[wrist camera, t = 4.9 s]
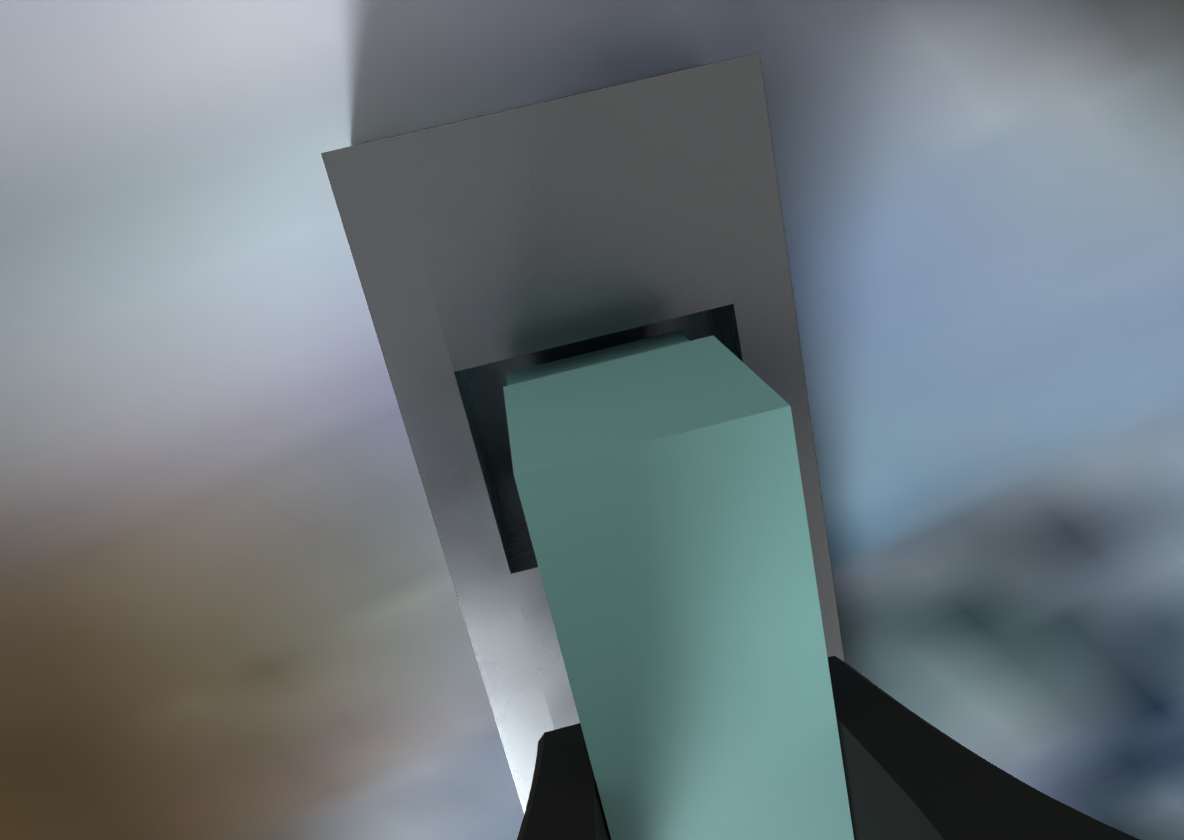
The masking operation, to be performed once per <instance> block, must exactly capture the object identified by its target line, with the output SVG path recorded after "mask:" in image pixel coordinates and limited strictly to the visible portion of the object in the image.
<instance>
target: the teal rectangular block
mask: <svg viewBox="0 0 1184 840" xmlns="http://www.w3.org/2000/svg"><path fill="white" fill-rule="evenodd" d="M506 379H507V386H505V387H503V390H504V398H505V407H506V415H507V423H508V432H509V440H510V448H511V457H512V465H513V473H514V478H515V482H516V485H517V489H518V493H519V497H520V500H521V504H522V508H523V512H524V515H525V519H526V523H527V526H528V530H529V534H530V538H531V541H532V545H533V549H534V553H535V556H536V560H537V564H538V568H539V571H540V575H541V579H542V582H543V586H544V590H545V594H546V597H547V601H548V605H549V609H550V612H551V616H552V620H553V624H554V627H555V631H556V635H557V638H558V642H559V646H560V650H561V653H562V657H563V661H564V665H565V668H566V672H567V676H568V680H569V683H570V687H571V691H572V694H573V698H574V702H575V706H576V709H577V713H578V717H579V721H580V724H581V728H582V732H583V735H584V739H585V743H586V747H587V750H588V754H589V758H590V762H591V765H592V769H593V773H594V777H595V780H596V784H597V788H598V791H599V795H600V799H601V803H602V806H603V810H604V814H605V818H606V821H607V825H608V829H609V833H610V836H611V840H854V835H853V828H852V822H851V815H850V808H849V801H848V794H847V788H846V781H845V774H844V767H843V760H842V753H841V747H840V740H839V733H838V726H837V719H836V712H835V706H834V699H833V692H832V685H831V678H830V672H829V665H828V658H827V651H826V644H825V637H824V631H823V624H822V617H821V610H820V603H819V597H818V590H817V583H816V576H815V569H814V562H813V556H812V549H811V542H810V535H809V528H808V522H807V515H806V508H805V501H804V494H803V487H802V481H801V474H800V467H799V460H798V453H797V447H796V440H795V433H794V426H793V419H792V412H791V406H790V405H789V404H788V403H787V402H786V401H785V400H784V399H783V398H782V397H780V396H779V395H778V394H777V393H776V392H775V391H774V390H773V389H772V388H771V387H769V386H768V385H767V384H766V383H765V382H764V381H763V380H762V379H761V378H760V377H758V376H757V375H756V374H755V373H754V372H753V371H752V370H751V369H750V368H749V367H747V366H746V365H745V364H744V363H743V362H742V361H741V360H740V359H739V358H738V357H736V356H735V355H734V354H733V353H732V352H731V351H730V350H729V349H728V348H727V347H725V346H724V345H723V344H722V343H721V342H720V341H719V340H718V339H717V338H716V337H714V336H709V337H704V338H700V339H696V340H692V341H690V340H689V339H688V338H687V337H686V336H685V335H684V334H683V333H682V332H681V331H680V330H679V331H675V332H671V333H666V334H662V335H658V336H654V337H650V338H646V339H642V340H638V341H634V342H630V343H626V344H621V345H617V346H613V347H609V348H605V349H601V350H597V351H593V352H589V353H585V354H581V355H576V356H572V357H568V358H564V359H560V360H556V361H552V362H548V363H544V364H540V365H536V366H531V367H527V368H523V369H519V370H515V371H511V372H507V373H506Z"/></svg>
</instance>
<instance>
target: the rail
mask: <svg viewBox="0 0 1184 840" xmlns="http://www.w3.org/2000/svg"><path fill="white" fill-rule="evenodd" d="M321 155H322V158H323V161H324V164H325V168H326V171H327V174H328V177H329V181H330V184H331V187H332V190H333V194H334V197H335V200H336V203H337V207H338V210H339V213H340V216H341V220H342V223H343V226H344V229H345V233H346V236H347V239H348V242H349V246H350V249H351V252H352V255H353V259H354V262H355V265H356V268H357V272H358V275H359V278H360V281H361V285H362V288H363V291H364V294H365V298H366V301H367V304H368V307H369V311H370V314H371V317H372V321H373V324H374V327H375V330H376V334H377V337H378V340H379V343H380V347H381V350H382V353H383V356H384V360H385V363H386V366H387V369H388V373H389V376H390V379H391V382H392V386H393V389H394V392H395V395H396V399H397V402H398V405H399V408H400V412H401V415H402V418H403V421H404V425H405V428H406V431H407V434H408V438H409V441H410V444H411V447H412V451H413V454H414V457H415V460H416V464H417V467H418V470H419V473H420V477H421V480H422V483H423V486H424V490H425V493H426V496H427V500H428V503H429V506H430V509H431V513H432V516H433V519H434V522H435V526H436V529H437V532H438V535H439V539H440V542H441V545H442V548H443V552H444V555H445V558H446V561H447V565H448V568H449V571H450V574H451V578H452V581H453V584H454V587H455V591H456V594H457V597H458V600H459V604H460V607H461V610H462V613H463V617H464V620H465V623H466V626H467V630H468V633H469V636H470V639H471V643H472V646H473V649H474V652H475V656H476V659H477V662H478V666H479V669H480V672H481V675H482V679H483V682H484V685H485V688H486V692H487V695H488V698H489V701H490V705H491V708H492V711H493V714H494V718H495V721H496V724H497V727H498V731H499V734H500V737H501V740H502V744H503V747H504V750H505V753H506V757H507V760H508V763H509V766H510V770H511V773H512V776H513V779H514V783H515V786H516V789H517V792H518V796H519V799H520V802H521V805H522V809H523V812H524V814H525V810H526V806H527V802H528V798H529V793H530V789H531V785H532V780H533V775H534V769H535V763H536V757H537V748H538V741H539V740H540V738H541V737H542V735H543V734H544V732H548V731H552V730H556V729H559V728H563V727H567V726H571V725H574V724H578V723H580V721H579V717H578V713H577V709H576V706H575V702H574V698H573V694H572V691H571V687H570V683H569V680H568V676H567V672H566V668H565V665H564V661H563V657H562V653H561V650H560V646H559V642H558V638H557V635H556V631H555V627H554V624H553V620H552V616H551V612H550V609H549V605H548V601H547V597H546V594H545V590H544V586H543V582H542V579H541V575H540V571H539V568H538V564H537V560H536V556H535V553H534V549H533V545H532V541H531V538H530V534H529V530H528V526H527V523H526V519H525V515H524V512H523V508H522V504H521V500H520V497H519V493H518V489H517V485H516V482H515V478H514V473H513V465H512V457H511V448H510V440H509V432H508V423H507V415H506V407H505V398H504V390H503V387H505V386H507V379H506V373H507V372H511V371H515V370H519V369H523V368H527V367H531V366H536V365H540V364H544V363H548V362H552V361H556V360H560V359H564V358H568V357H572V356H576V355H581V354H585V353H589V352H593V351H597V350H601V349H605V348H609V347H613V346H617V345H621V344H626V343H630V342H634V341H638V340H642V339H646V338H650V337H654V336H658V335H662V334H666V333H671V332H675V331H679V330H680V331H681V332H682V333H683V334H684V335H685V336H686V337H687V338H688V339H689V340H690V341H692V340H696V339H700V338H704V337H709V336H714V337H716V338H717V339H718V340H719V341H720V342H721V343H722V344H723V345H724V346H725V347H727V348H728V349H729V350H730V351H731V352H732V353H733V354H734V355H735V356H736V357H738V358H739V359H740V360H741V361H742V362H743V363H744V364H745V365H746V366H747V367H749V368H750V369H751V370H752V371H753V372H754V373H755V374H756V375H757V376H758V377H760V378H761V379H762V380H763V381H764V382H765V383H766V384H767V385H768V386H769V387H771V388H772V389H773V390H774V391H775V392H776V393H777V394H778V395H779V396H780V397H782V398H783V399H784V400H785V401H786V402H787V403H788V404H789V405H790V406H791V412H792V419H793V426H794V433H795V440H796V447H797V453H798V460H799V467H800V474H801V481H802V487H803V494H804V501H805V508H806V515H807V522H808V528H809V535H810V542H811V549H812V556H813V562H814V569H815V576H816V583H817V590H818V597H819V603H820V610H821V617H822V624H823V631H824V637H825V644H826V651H827V657H831V656H836V657H837V658H839V659H841V660H842V661H844V655H843V647H842V640H841V633H840V626H839V619H838V612H837V605H836V597H835V590H834V583H833V576H832V569H831V562H830V555H829V548H828V540H827V533H826V526H825V519H824V512H823V505H822V498H821V490H820V483H819V476H818V469H817V462H816V455H815V448H814V440H813V433H812V426H811V419H810V412H809V405H808V398H807V391H806V383H805V376H804V369H803V362H802V355H801V348H800V341H799V333H798V326H797V319H796V312H795V305H794V298H793V291H792V283H791V276H790V269H789V262H788V255H787V248H786V241H785V234H784V226H783V219H782V212H781V205H780V198H779V191H778V184H777V176H776V169H775V162H774V155H773V148H772V141H771V134H770V126H769V119H768V112H767V105H766V98H765V91H764V84H763V77H762V69H761V62H760V55H759V53H756V54H751V55H747V56H742V57H738V58H733V59H729V60H724V61H720V62H715V63H711V64H706V65H702V66H698V67H693V68H689V69H685V70H680V71H676V72H672V73H667V74H663V75H659V76H654V77H650V78H645V79H641V80H637V81H632V82H628V83H624V84H619V85H615V86H611V87H606V88H602V89H598V90H593V91H589V92H585V93H580V94H576V95H572V96H567V97H563V98H558V99H554V100H550V101H545V102H541V103H537V104H532V105H528V106H524V107H519V108H515V109H511V110H506V111H502V112H498V113H493V114H489V115H485V116H480V117H476V118H471V119H467V120H463V121H458V122H454V123H450V124H445V125H441V126H437V127H432V128H428V129H424V130H419V131H415V132H411V133H406V134H402V135H398V136H393V137H389V138H384V139H380V140H376V141H371V142H367V143H363V144H358V145H354V146H350V147H346V148H342V149H337V150H333V151H329V152H325V153H321Z"/></svg>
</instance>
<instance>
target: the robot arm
mask: <svg viewBox="0 0 1184 840" xmlns="http://www.w3.org/2000/svg"><path fill="white" fill-rule="evenodd" d="M827 658H828V665H829V672H830V678H831V685H832V692H833V699H834V706H835V712H836V719H837V726H838V733H839V740H840V747H841V753H842V760H843V767H844V774H845V781H846V788H847V794H848V801H849V808H850V815H851V822H852V828H853V835H854V840H1139V839H1137V838H1135V837H1132V836H1130V835H1128V834H1126V833H1123V832H1121V831H1119V830H1117V829H1115V828H1112V827H1110V826H1108V825H1106V824H1104V823H1101V822H1099V821H1097V820H1095V819H1093V818H1091V817H1089V816H1087V815H1085V814H1083V813H1081V812H1079V811H1077V810H1075V809H1073V808H1071V807H1069V806H1067V805H1065V804H1063V803H1061V802H1059V801H1057V800H1055V799H1053V798H1051V797H1049V796H1047V795H1045V794H1043V793H1042V792H1040V791H1038V790H1036V789H1034V788H1032V787H1031V786H1029V785H1027V784H1025V783H1023V782H1022V781H1020V780H1018V779H1017V778H1015V777H1013V776H1012V775H1010V774H1008V773H1006V772H1005V771H1003V770H1001V769H1000V768H998V767H996V766H995V765H993V764H991V763H990V762H988V761H986V760H985V759H983V758H981V757H980V756H978V755H977V754H975V753H973V752H972V751H970V750H969V749H967V748H965V747H964V746H962V745H961V744H959V743H958V742H956V741H955V740H953V739H952V738H950V737H949V736H947V735H946V734H944V733H943V732H941V731H940V730H938V729H937V728H935V727H934V726H932V725H931V724H929V723H928V722H926V721H925V720H923V719H922V718H920V717H919V716H917V715H916V714H915V713H913V712H912V711H910V710H909V709H907V708H906V707H905V706H903V705H902V704H901V703H899V702H898V701H896V700H895V699H894V698H892V697H891V696H889V695H888V694H887V693H885V692H884V691H883V690H881V689H880V688H878V687H877V686H876V685H874V684H873V683H872V682H870V681H869V680H868V679H866V678H865V677H864V676H862V675H861V674H860V673H858V672H857V671H856V670H854V669H853V668H852V667H850V666H849V665H848V664H846V663H845V662H844V661H842V660H841V659H839V658H837V657H836V656H831V657H827ZM517 840H611V836H610V833H609V829H608V825H607V821H606V818H605V814H604V810H603V806H602V803H601V799H600V795H599V791H598V788H597V784H596V780H595V777H594V773H593V769H592V765H591V762H590V758H589V754H588V750H587V747H586V743H585V739H584V735H583V732H582V728H581V724H580V723H578V724H574V725H571V726H567V727H563V728H559V729H556V730H552V731H548V732H544V734H543V735H542V737H541V738H540V740H539V741H538V748H537V757H536V763H535V769H534V775H533V780H532V785H531V789H530V793H529V798H528V802H527V806H526V810H525V814H524V818H523V821H522V825H521V828H520V832H519V835H518V839H517Z"/></svg>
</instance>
